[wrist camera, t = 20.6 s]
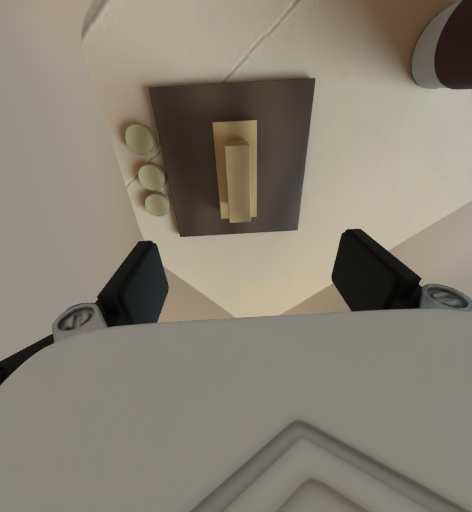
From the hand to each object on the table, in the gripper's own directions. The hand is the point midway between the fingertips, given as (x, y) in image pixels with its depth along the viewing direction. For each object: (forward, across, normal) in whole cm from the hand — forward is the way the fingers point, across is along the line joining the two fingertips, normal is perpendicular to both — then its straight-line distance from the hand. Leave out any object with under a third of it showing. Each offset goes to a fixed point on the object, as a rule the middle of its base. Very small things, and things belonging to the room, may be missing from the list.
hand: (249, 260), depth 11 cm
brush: (+23, 0, 0) cm, 23 cm away
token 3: (+24, +12, +4) cm, 28 cm away
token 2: (+24, +12, 0) cm, 27 cm away
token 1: (+24, +13, -5) cm, 28 cm away
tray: (+24, 0, 0) cm, 24 cm away
